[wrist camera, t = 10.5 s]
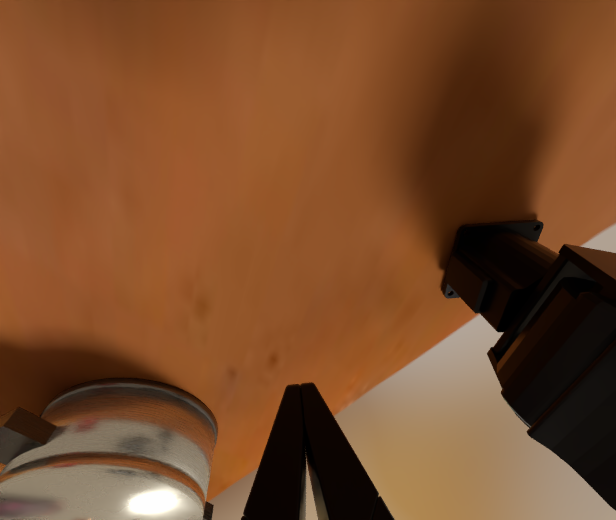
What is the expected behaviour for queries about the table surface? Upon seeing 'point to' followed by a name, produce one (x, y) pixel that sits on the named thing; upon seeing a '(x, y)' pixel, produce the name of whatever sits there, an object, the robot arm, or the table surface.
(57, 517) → the cooker lid
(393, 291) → the table surface
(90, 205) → the table surface
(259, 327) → the table surface
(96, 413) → the cooker pot
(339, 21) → the table surface
